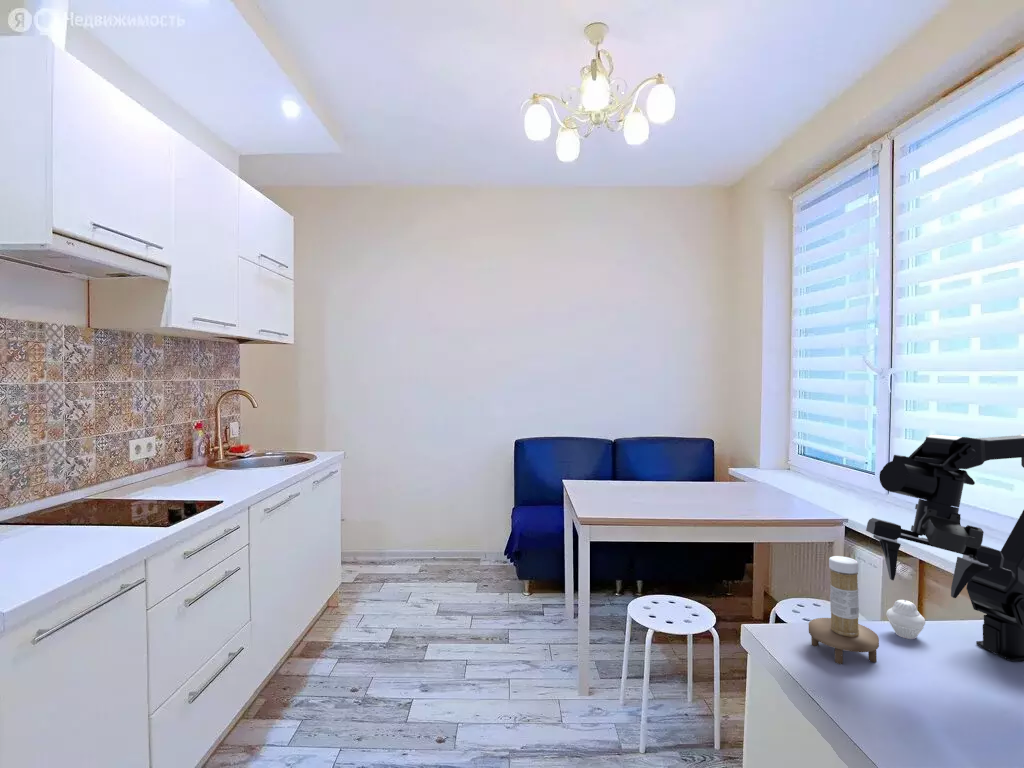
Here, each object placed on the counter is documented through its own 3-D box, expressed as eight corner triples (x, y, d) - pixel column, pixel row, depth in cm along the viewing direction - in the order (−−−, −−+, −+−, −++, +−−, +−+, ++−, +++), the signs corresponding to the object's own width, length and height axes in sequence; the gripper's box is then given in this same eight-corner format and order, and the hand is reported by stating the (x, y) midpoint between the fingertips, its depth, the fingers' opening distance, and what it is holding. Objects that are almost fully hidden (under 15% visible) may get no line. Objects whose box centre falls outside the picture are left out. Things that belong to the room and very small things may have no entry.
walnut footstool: (849, 636, 102) (848, 616, 102) (894, 666, 91) (894, 643, 91) (796, 639, 101) (795, 619, 101) (835, 670, 90) (835, 646, 90)
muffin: (919, 646, 98) (918, 609, 98) (881, 634, 103) (881, 598, 103) (930, 636, 102) (929, 601, 102) (893, 625, 107) (892, 591, 107)
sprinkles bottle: (846, 625, 98) (845, 554, 98) (865, 637, 93) (864, 562, 94) (824, 627, 98) (823, 555, 98) (842, 638, 93) (841, 563, 93)
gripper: (891, 492, 90) (873, 580, 89) (1029, 524, 83) (1011, 620, 82) (873, 488, 100) (857, 567, 100) (994, 516, 93) (978, 602, 92)
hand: (921, 588), depth 93 cm, fingers open, 9 cm apart
